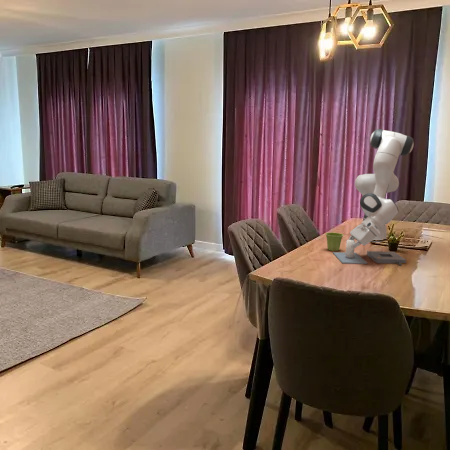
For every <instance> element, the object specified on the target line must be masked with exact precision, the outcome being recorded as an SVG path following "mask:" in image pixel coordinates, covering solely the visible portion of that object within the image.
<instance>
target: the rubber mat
mask: <svg viewBox="0 0 450 450" xmlns="http://www.w3.org/2000/svg"><path fill="white" fill-rule="evenodd" d="M332 254H333V255H334V256H335V257H336V258H337V259H338V261H339V262H340V263H341V264H343V265H344V264H345V265H346V264H348V265H349V264H352V265H353V264H354V265H356V264H357V265H367V264H368V261H366V259H364V258H363V257H361V255H359V254H358V253H357V252H354V255H355V257H354V258H352V259H351V258H345V254H346V252H337V251H332Z"/></svg>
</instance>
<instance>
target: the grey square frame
mask: <svg viewBox="0 0 450 450" xmlns="http://www.w3.org/2000/svg"><path fill="white" fill-rule="evenodd" d="M367 255H368V257H369V258H370V259H371V260H372V259H373V260H374V261H373V260H372V261H373V262H375V263H376V264H396V263H397V264H396V265H398V264H399V265H398V266H399V267H403V264H401V263H407V259H406V258H404V257H403V256H401V254H398V253H397V252H395V251H380V250H379V251H372V250H369V251H366V256H367Z"/></svg>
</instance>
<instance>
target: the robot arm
mask: <svg viewBox="0 0 450 450" xmlns="http://www.w3.org/2000/svg"><path fill="white" fill-rule="evenodd" d="M369 139H370V140H369V142H370V143H369V145H370V146H371V148H374V149H375V150H377V151H376V152H375V155H374V156H375V157H374V159H373V166H372V168H373V173H364V174H359V175H358V176H357V177H356V178H355V180H354V186H355V188H356V190H357V191H358V192H359V193H360V194H361V197H360V199H359V205H360V208H361V209H362V211H363V214H364V215H363V216H362V217H363V219H362V221H361V223H360V224H358V225H357V226H355V227H354V228H353V229H352V230H350V232H349V234H350V236H349V237H348V239H347V240H354V241H355V243H354V244H352V245H351V248H352V249H354V250H355V249H356V248H357V247H359V246H361V245H362V246H367V245H368V244H369V243H371V242H373V241H372V240H383V239H386V237H387V225H388V224H389V223H390V222H392V220H393V219H395V217H396V216H397V215H398V213H399V208H398V206H397V204H396V202H395V201H394V200H393V199H390V198H386V197H387V193H391V192H392V193H394V192H395V191H397V190H398V188H399V185H400V182H399V178H398V177H397V175H396V174H395V173H394V172H395V168H396V165H397V164H398V160H399V156H408V155H409V154H410V153H411V152H412V151H413V148H414V142H415V141H414V138H413V137H411V136H409V135H405V134H403V133H400V132H396V131H392V130H384V129H382V128H377V129H375V130H374V131H373V132H372V133H371V135H370V138H369ZM347 240H346V241H345V243H346V242H347Z"/></svg>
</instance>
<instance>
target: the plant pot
mask: <svg viewBox="0 0 450 450" xmlns="http://www.w3.org/2000/svg"><path fill="white" fill-rule="evenodd" d="M325 236H326V244H327V245H326V246H327V251H329V252H337V251H340V249H341V248H340V247H341V243H342V239H343V237H344V234H343V233H339V232H334V231H333V232H326V233H325Z"/></svg>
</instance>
